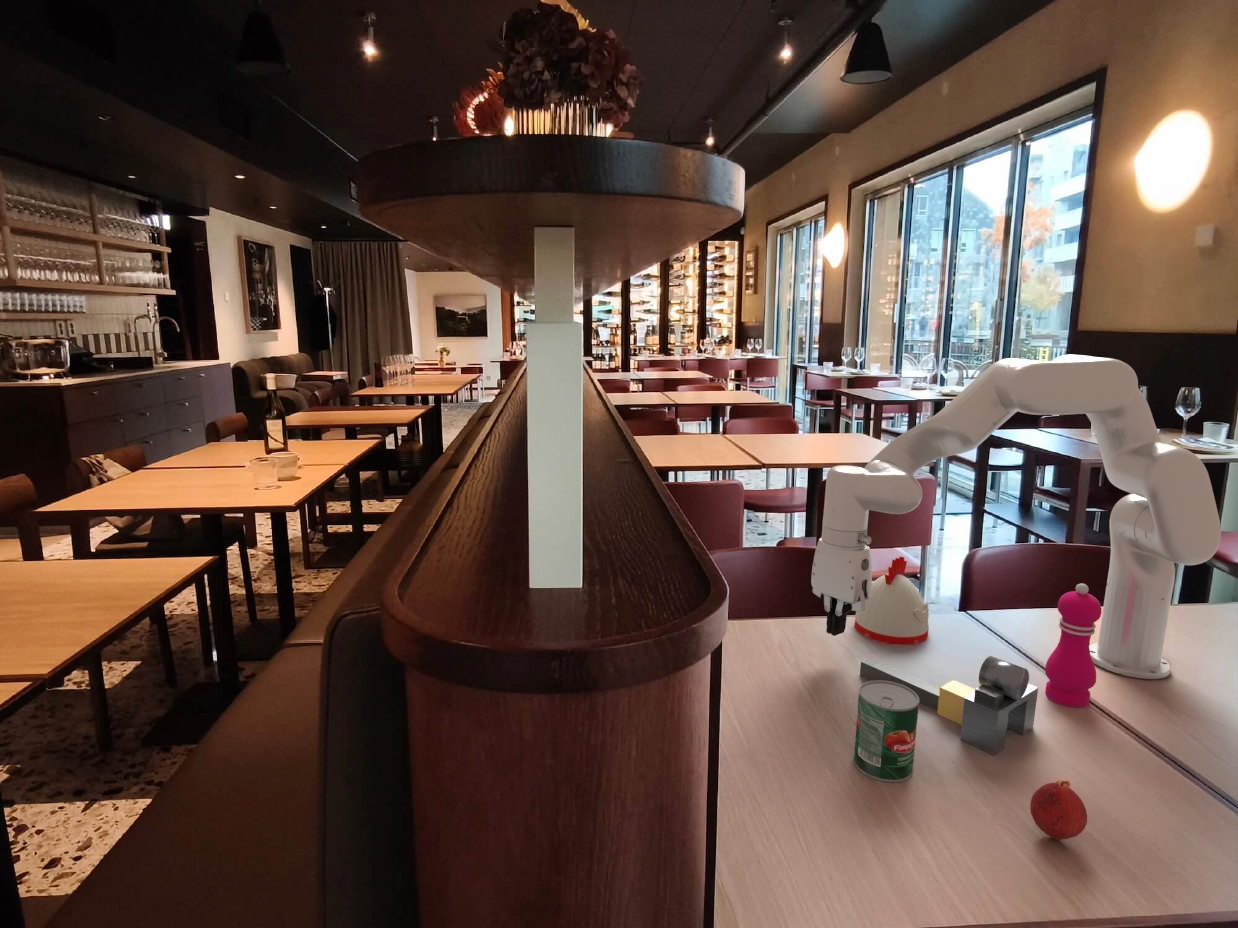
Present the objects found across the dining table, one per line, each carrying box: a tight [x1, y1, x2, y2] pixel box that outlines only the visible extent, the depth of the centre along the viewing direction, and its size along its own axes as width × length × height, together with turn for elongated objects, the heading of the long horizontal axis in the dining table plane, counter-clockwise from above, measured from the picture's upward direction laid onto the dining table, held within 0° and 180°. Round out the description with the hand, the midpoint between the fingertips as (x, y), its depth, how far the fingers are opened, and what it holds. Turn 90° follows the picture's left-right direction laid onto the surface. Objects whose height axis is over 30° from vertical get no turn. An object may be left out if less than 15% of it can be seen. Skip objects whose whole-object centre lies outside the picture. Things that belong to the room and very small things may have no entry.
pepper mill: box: [1044, 583, 1102, 708], centre depth 119 cm, size 7×7×20 cm
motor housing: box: [959, 655, 1039, 756], centre depth 109 cm, size 12×5×12 cm, turn 126°
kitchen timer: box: [854, 556, 930, 646], centre depth 146 cm, size 14×14×15 cm
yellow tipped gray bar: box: [859, 657, 976, 726], centre depth 121 cm, size 4×20×5 cm, turn 36°
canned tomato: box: [853, 680, 920, 783], centre depth 102 cm, size 8×8×11 cm
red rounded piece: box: [1029, 777, 1088, 841], centre depth 88 cm, size 6×6×8 cm
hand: (835, 632), depth 133 cm, fingers closed
